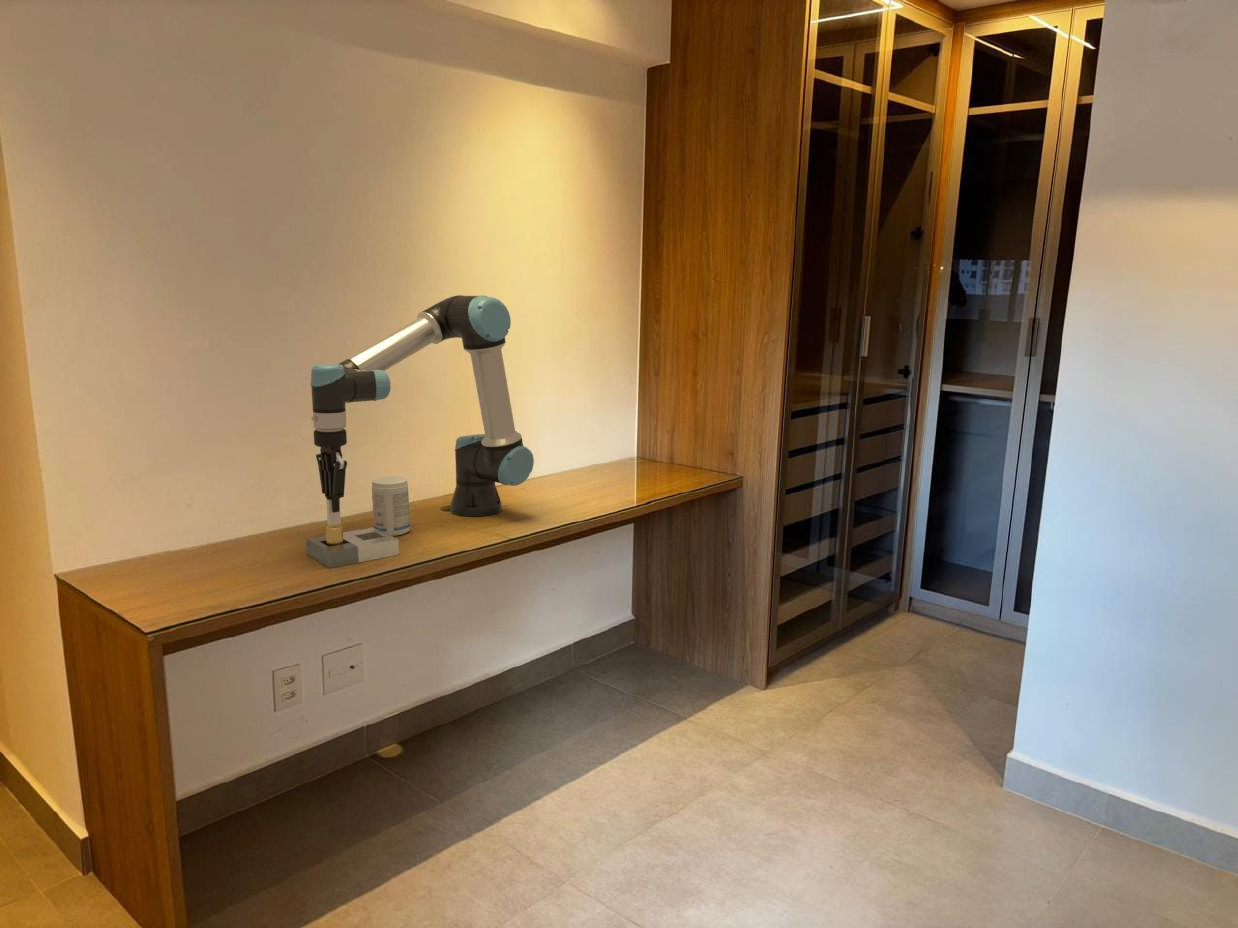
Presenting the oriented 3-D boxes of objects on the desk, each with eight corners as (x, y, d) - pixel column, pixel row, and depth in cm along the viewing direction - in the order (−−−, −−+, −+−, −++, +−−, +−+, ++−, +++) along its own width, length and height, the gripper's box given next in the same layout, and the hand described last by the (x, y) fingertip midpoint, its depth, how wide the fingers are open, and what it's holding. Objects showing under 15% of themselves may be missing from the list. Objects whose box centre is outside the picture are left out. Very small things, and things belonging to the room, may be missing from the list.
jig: (374, 542, 235) (373, 527, 234) (398, 554, 224) (398, 539, 223) (306, 554, 223) (305, 538, 222) (329, 568, 213) (328, 551, 212)
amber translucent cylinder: (340, 554, 224) (338, 523, 222) (346, 558, 221) (345, 526, 219) (324, 557, 221) (322, 526, 219) (330, 561, 218) (329, 529, 216)
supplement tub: (409, 526, 250) (408, 475, 247) (410, 536, 241) (409, 482, 238) (373, 528, 248) (371, 476, 245) (373, 537, 239) (371, 484, 236)
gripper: (304, 426, 217) (308, 520, 222) (325, 434, 207) (330, 532, 212) (333, 424, 222) (337, 516, 226) (356, 431, 212) (360, 527, 217)
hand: (334, 523), depth 219 cm, fingers closed
